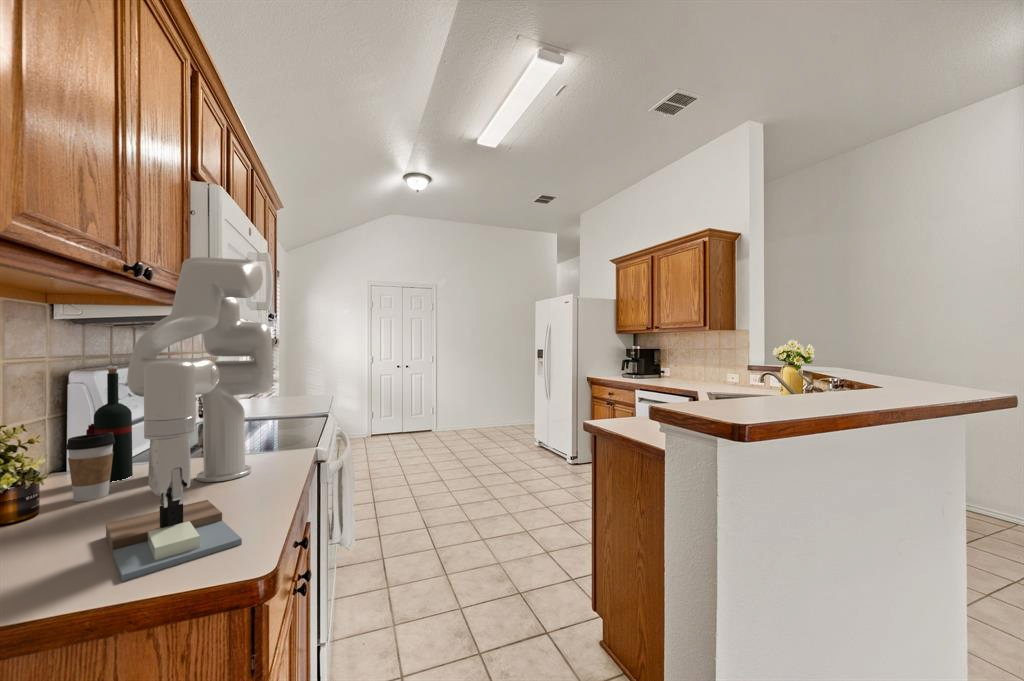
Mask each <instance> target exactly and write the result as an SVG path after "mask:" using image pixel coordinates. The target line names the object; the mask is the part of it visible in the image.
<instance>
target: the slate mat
mask: <svg viewBox="0 0 1024 681" xmlns="http://www.w3.org/2000/svg"><path fill="white" fill-rule="evenodd" d="M195 530H196V531H197V532H198V534H199V535H200V547H199V548H196V549H192V550H189V551H185V552H182V553H179V554H175V555H172V556H168V557H165V558H161V559H158V560H155V559H154V557H153V554H152V552H151V549H150V547H149V545H148V541H145V542H141V543H138V544H134V545H130V546H127V547H123V548H119V549H116V550H113V555H112V557H113V560H114V563H115V565H116V568H117V571H118V574H119V577H120V579H121V582H122V583H123V582H126V581H129V580H131V579H136V578H139V577H141V576H146V575H148V574H150V573H155V572H157V571H160V570H164V569H167V568H170V567H172V566H173V567H174V566H176V565H180V564H183V563H185V562H189V561H192V560H195V559H198V558H203V557H205V556H208V555H211V554H215V553H218V552H221V551H224V550H228V549H231V548H234V547H237V546H240V545H243V543H242V542H243V538H242V537H241V536H240V535H239V534H238V533H237V532H235V531H234V530H233V529H232V528H231V527H230V526H229V524H227V523H226V522H225V521H224V520H222V521H219V522H215V523H212V524H208V525H204V526H201V527H197V528H195Z"/></svg>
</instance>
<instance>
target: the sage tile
mask: <svg viewBox="0 0 1024 681" xmlns="http://www.w3.org/2000/svg"><path fill="white" fill-rule="evenodd" d="M148 545H149V547H150V549H151V552H152V554H153V557H154V559H155V560H158V559H161V558H165V557H168V556H172V555H175V554H179V553H182V552H185V551H189V550H192V549H196V548H199V547H200V535H199V534H198V532H197V531H196V530H195V528H194V527H193V525H192V524H191V522H190V521H188V522H184V523H180V524H176V525H172V526H168V527H164V528H160V529H156V530H152V531H148Z"/></svg>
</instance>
